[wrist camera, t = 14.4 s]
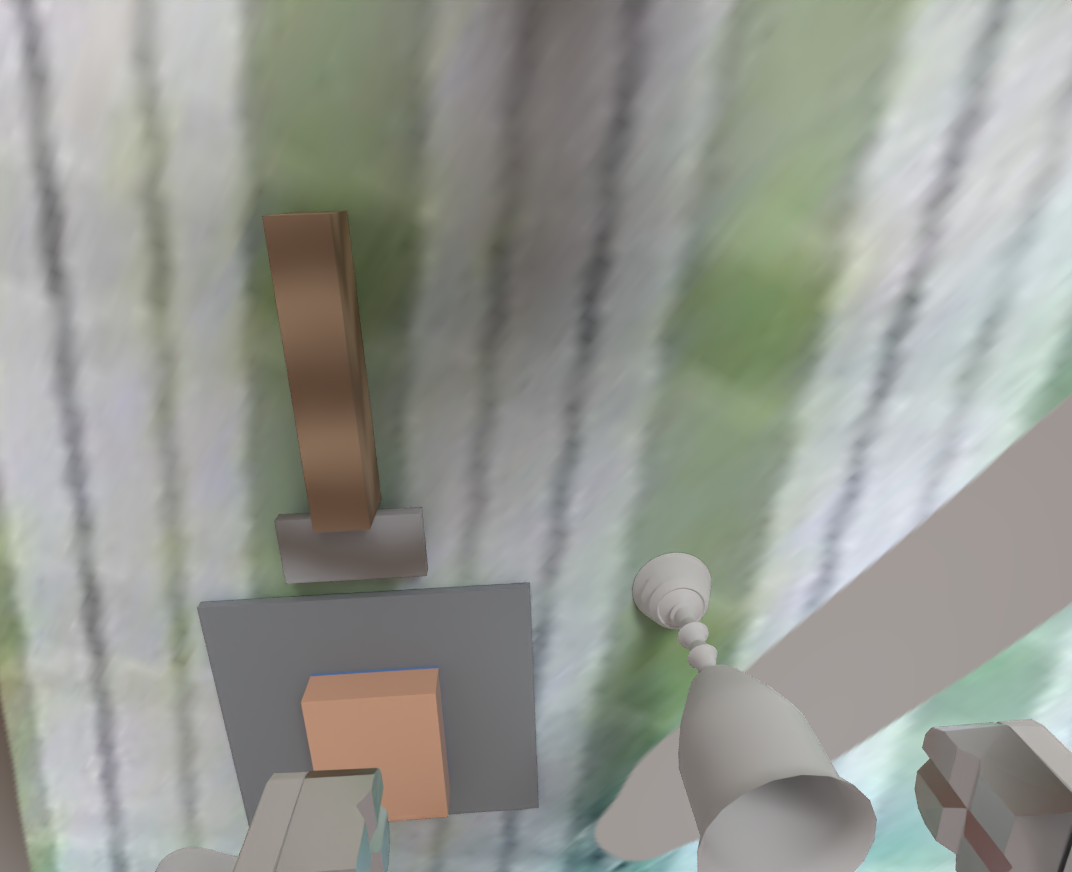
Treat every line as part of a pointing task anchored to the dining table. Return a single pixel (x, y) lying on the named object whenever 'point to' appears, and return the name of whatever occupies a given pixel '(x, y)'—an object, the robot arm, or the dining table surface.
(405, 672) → the tile
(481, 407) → the dining table surface
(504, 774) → the mat
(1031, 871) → the robot arm
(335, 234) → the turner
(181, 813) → the dining table surface
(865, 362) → the dining table surface
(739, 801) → the chalice
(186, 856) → the lumpy-topped squat cylinder
